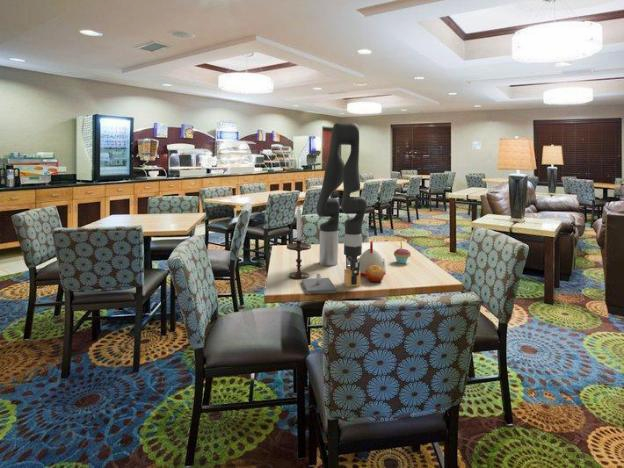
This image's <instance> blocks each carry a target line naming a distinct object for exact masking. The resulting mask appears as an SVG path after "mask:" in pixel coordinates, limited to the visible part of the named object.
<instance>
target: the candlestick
mask: <svg viewBox="0 0 624 468" xmlns="http://www.w3.org/2000/svg"><path fill="white" fill-rule="evenodd" d="M300 202H301V201H300V200H299V199H298V201H297V209H296V238H295V239H294V241H295V242H293V243H288V244H286V249H287V250H289V251H295V252H296V253H297V254H296V255H297V258H296V259H295V262H296V265H295V266H296V268H297V270H296V271H292V272H290V273H288V278H290V279H291V280H292V279H293V280H302V279H305V278H306V279H309V277H310V276H309V275H310V274H309V273H308V272H306V271H301V267H302V265H301V263H302V261H303V260H302V258H301V252H302V251H308V250H311V248H312V245H311V244H310V243H305V242H302V241H304V239H303V238H302V209H300V204H301V203H300Z"/></svg>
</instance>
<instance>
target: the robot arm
mask: <svg viewBox="0 0 624 468" xmlns="http://www.w3.org/2000/svg"><path fill="white" fill-rule="evenodd" d="M359 129H360V128H359V126H358V124H357V123H356V122H335V123H334V124H333V127H332V129H331V136H330V145H329V150H328V151H329V152H328V156H327V157H328V158H327V162H326V166H325V169H324V175H323V180H322V185H321V189H320V194H319V196H318V199H317V203H316V214H317V216H318V217H321V218H329V219H328V220H327V221H325V222H322V223H321V224H320V225H319V264H320V265H322V266H326V267H327V266H335V265H338V261H339V259H338V256H339V226H340V225H339V224H340V223H339V222H340V209H341V211H342V212H343V214H346V215H350V214H351V215H352V214H355V215H354V217H352V218H349V219H346V220H345V223H344V235H343V236H344V237H343V238H344V239H343V255H344V256H345V269H350V271H351V284H352V285H356V284H357V276H359V266H360V263H359V262H358V257H360V256H361V255H362V254H363V252H362V251H363V248H362V247H363V236H362V233H363V231H362V227H363V220H364V217H365V215H366V211H367V207H368V205H367V204H368V203H367V199H366V198H365V197H364V196H351V194H353V193H356V192H358V191H360V189H361V181H360V172H359V171H360V169H359V168H360V167H359V163H360V162H359V161H360V158H359V157H360V130H359ZM343 145H344V146H347V145H348V146H350V153H349V156H348V158H347V160H346V162H344V160H343V159H342V156H341V154H340V151H339V149H340V146H343ZM342 184H343V192H342V199H341V203H340V201H339V199H338V198H335V197H331V195H332V194H333V193H334V192H335V191H336V190H337V189H338V188H339V187H340V186H341V185H342ZM355 271H356V273H354V272H355Z"/></svg>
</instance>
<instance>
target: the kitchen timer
mask: <svg viewBox="0 0 624 468" xmlns="http://www.w3.org/2000/svg"><path fill="white" fill-rule="evenodd" d="M369 242H370V243H369V244H370V245H369V248H368V249H366V250H364V251H363V252H362V254H361V255H360V256H358V257H357V260H358V262H359V263H360V266H359V271H360V277H363V278H367V277H366V269H367V268H368V267H369V266H372V265H378V266H380V267H381V268H383V271H384V275H385V276H386V272H387V271H386V262H385V258H383V256H382V255H381V254H380V253H379V251H378V250H376V249H375V248H373V246H374V243H373V241H369Z"/></svg>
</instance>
